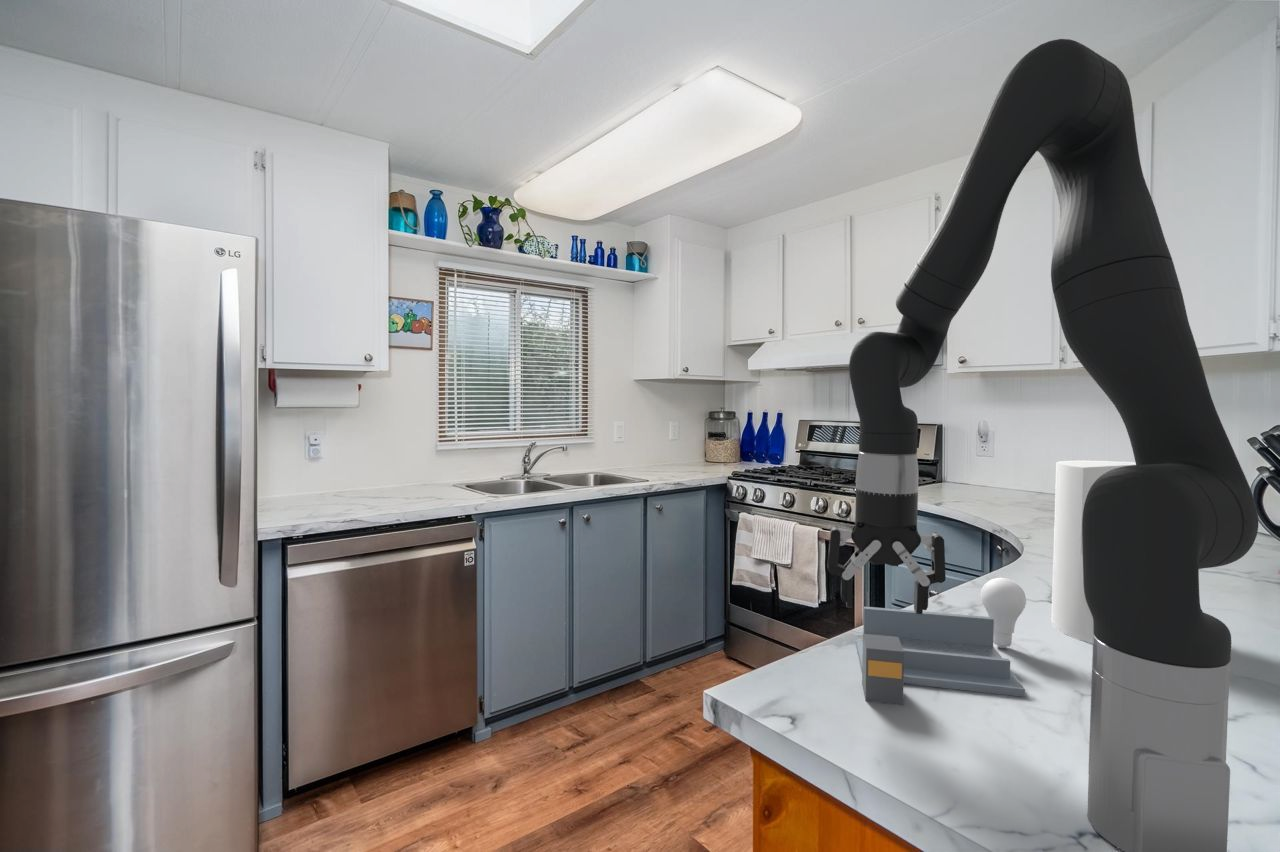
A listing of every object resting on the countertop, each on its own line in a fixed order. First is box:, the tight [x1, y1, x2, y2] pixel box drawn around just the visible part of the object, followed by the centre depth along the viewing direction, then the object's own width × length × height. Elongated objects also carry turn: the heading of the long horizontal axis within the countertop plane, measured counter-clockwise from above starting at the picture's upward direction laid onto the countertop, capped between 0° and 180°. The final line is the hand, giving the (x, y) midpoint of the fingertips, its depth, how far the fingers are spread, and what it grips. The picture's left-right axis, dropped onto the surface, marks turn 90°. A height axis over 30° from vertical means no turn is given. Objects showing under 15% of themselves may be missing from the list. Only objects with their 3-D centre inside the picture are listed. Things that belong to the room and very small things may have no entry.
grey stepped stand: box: [855, 606, 1026, 698], centre depth 89 cm, size 12×20×6 cm, turn 75°
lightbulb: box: [980, 577, 1027, 649], centre depth 96 cm, size 6×6×11 cm
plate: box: [898, 637, 1003, 658], centre depth 90 cm, size 7×18×2 cm, turn 75°
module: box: [861, 633, 904, 706], centre depth 81 cm, size 5×4×7 cm
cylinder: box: [1050, 459, 1136, 645], centre depth 102 cm, size 17×17×28 cm
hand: (883, 608), depth 81 cm, fingers open, 8 cm apart
